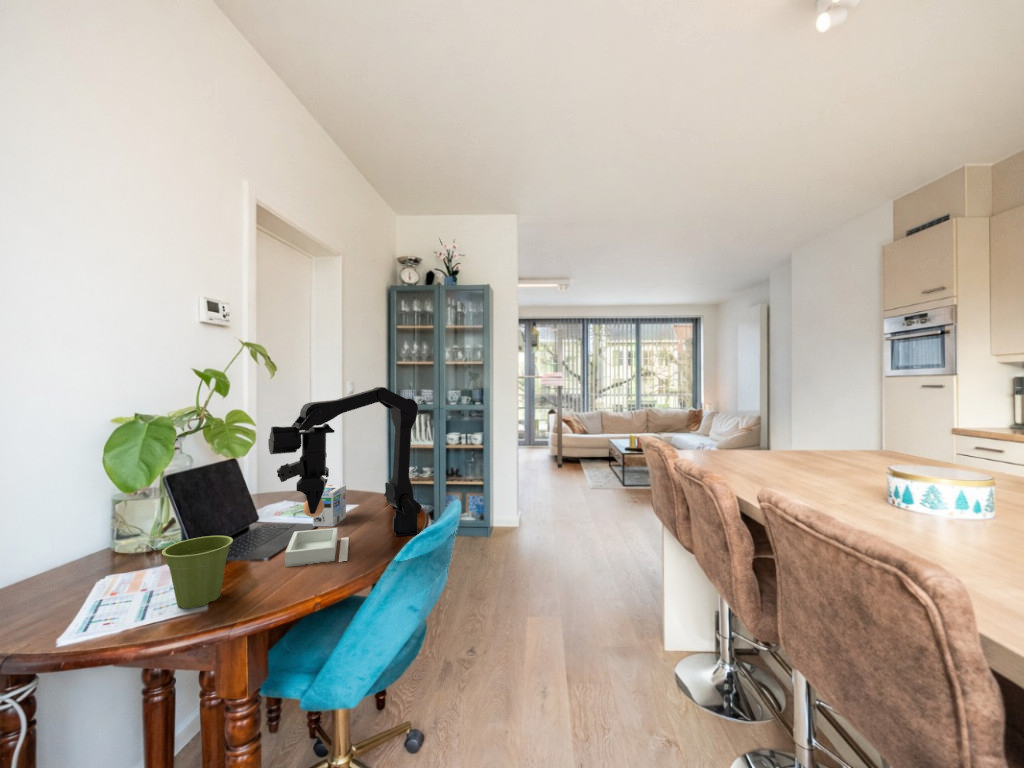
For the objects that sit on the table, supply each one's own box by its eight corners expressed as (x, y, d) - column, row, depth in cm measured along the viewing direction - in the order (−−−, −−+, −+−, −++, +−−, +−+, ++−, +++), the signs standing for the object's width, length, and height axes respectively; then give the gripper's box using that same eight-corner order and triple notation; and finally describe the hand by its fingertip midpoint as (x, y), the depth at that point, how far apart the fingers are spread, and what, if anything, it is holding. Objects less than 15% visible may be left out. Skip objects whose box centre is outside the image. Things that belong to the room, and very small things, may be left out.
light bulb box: (333, 527, 139) (333, 492, 139) (311, 527, 139) (311, 491, 139) (346, 516, 149) (346, 484, 149) (326, 516, 149) (326, 484, 149)
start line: (348, 537, 129) (348, 537, 129) (347, 561, 112) (347, 560, 112) (341, 538, 128) (341, 538, 128) (338, 562, 111) (338, 561, 111)
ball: (324, 513, 121) (324, 494, 121) (323, 518, 116) (323, 499, 116) (304, 514, 119) (304, 495, 119) (301, 520, 114) (302, 500, 114)
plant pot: (225, 582, 100) (225, 531, 100) (239, 601, 91) (239, 545, 91) (157, 600, 92) (157, 544, 92) (166, 622, 83) (166, 561, 83)
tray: (337, 540, 127) (337, 527, 127) (334, 561, 112) (334, 547, 112) (294, 544, 123) (294, 531, 123) (285, 567, 108) (285, 552, 108)
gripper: (285, 447, 124) (284, 504, 124) (273, 457, 106) (272, 524, 106) (329, 445, 127) (328, 501, 127) (324, 455, 110) (323, 520, 110)
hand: (313, 510), depth 118 cm, fingers closed on ball, 5 cm apart
